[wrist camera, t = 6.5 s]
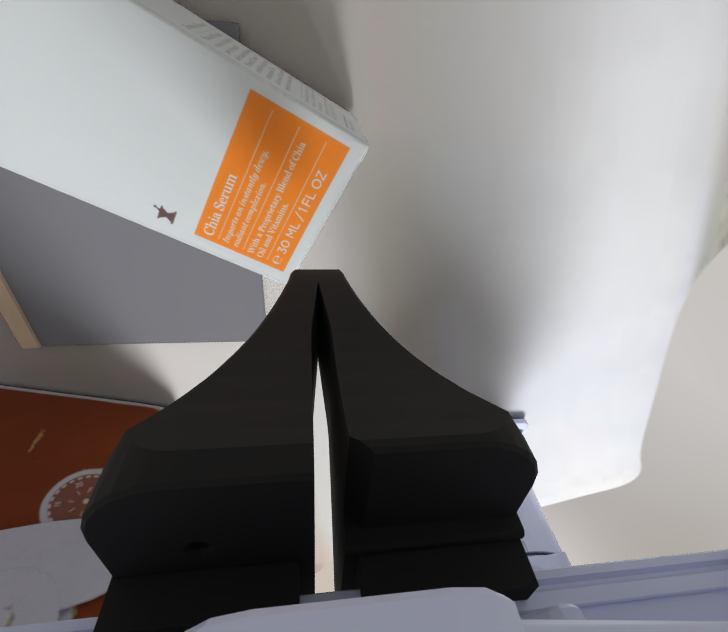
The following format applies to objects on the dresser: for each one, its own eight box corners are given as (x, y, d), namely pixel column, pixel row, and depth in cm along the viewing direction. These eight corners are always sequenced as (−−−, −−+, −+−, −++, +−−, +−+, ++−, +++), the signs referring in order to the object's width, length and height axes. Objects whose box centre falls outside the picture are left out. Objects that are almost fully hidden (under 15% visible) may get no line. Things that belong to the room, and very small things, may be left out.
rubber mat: (267, 337, 22) (267, 343, 22) (27, 342, 20) (21, 348, 20) (237, 23, 14) (235, 23, 13) (-176, -12, 12) (-193, -13, 12)
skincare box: (292, 291, 15) (-133, 121, 10) (295, 240, 18) (-25, 95, 14) (376, 141, 12) (-161, -186, 8) (361, 114, 16) (-15, -123, 11)
